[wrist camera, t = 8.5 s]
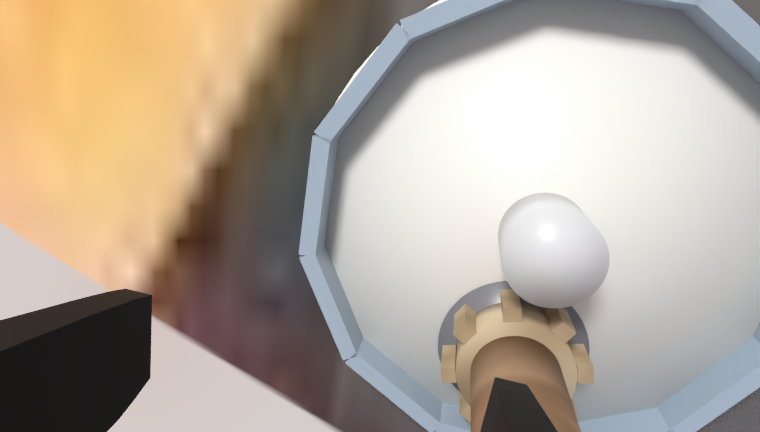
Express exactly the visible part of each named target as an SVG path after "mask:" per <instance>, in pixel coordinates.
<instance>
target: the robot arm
mask: <svg viewBox="0 0 760 432" xmlns="http://www.w3.org/2000/svg"><path fill="white" fill-rule="evenodd" d="M151 312H152V295H149V294H145V293H141V292H136V291H132V290H128V289H122V290H116V291H111V292H106V293H102V294H97V295H94V296H90V297H86V298H82V299H78V300H74V301H70V302H67V303H63V304H59V305H56V306H52V307H48V308H45V309H41V310H38V311H34V312H30V313H26V314H23V315H19V316H16V317H11V318H8V319H4V320H0V432H107V431H108V430H109V429H110V428H111V427H112V426H113V425H114V424H115V423H116V421H117V420H118V419H119V418H120V417H121V416H122V414H123V413H124V412H125V411H126V409H127V408H128V407H129V405H130V404H131V403H132V401H133V400H134V399H135V398H136V396H137V395H138V394H139V392H140V391H141V390H142V388H143V387H144V385H145V384H146V383H147V381H148V380H149V379H150V361H151V360H150V359H151ZM480 432H558V431H557V430H556V428H555V427H554V425H553V424H552V422H551V421H550V419H549V418H548V416H547V414H546V413H545V411H544V410H543V408H542V407H541V405H540V404H539V402H538V401H537V399H536V398H535V396H534V394H533V393H532V391H531V390H530V388H529V387H528V385H527V384H522V383H518V382H514V381H510V380H506V379H501V378H497V377H495V379H494V382H493V386H492V390H491V393H490V397H489V401H488V404H487V408H486V412H485V416H484V419H483V423H482V427H481V430H480Z"/></svg>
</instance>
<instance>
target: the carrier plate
mask: <svg viewBox="0 0 760 432" xmlns="http://www.w3.org/2000/svg"><path fill="white" fill-rule="evenodd" d="M400 22H401V25H402V26H400V25H398V24H397V23H396V24H395V26H394V27H393V28H392V30H391V31H390V32H389V34H388V35H387V36H386V38H385V39H384V40H383V42H382V43H381V44H380V45H379V46H378V47H377V48H376V49H375V50H374V52H373V53H372V54H371V55H370V56H369V57H368V58H367V60H366V61H365V62H364V63H363V64H362V65H361V67H360V68H359V69H358V70H357V71H356V72H355V74H354V75H353V77H352V78H351V80H350V81H349V83H348V84H347V86H346V87H345V89H344V90H343V92H342V93H341V95H340V96H339V98H338V100H337V101H336V103H335V105H334V106H333V108H332V109H331V110H330V112H329V113H328V114H327V116H326V117H325V118H324V120H323V121H322V122H321V124H320V125H319V126H318V128H317V129H316V130H315V133H316V135H313V137H312V146H311V154H310V163H309V171H308V180H307V188H306V197H305V205H304V214H303V222H302V231H301V239H300V248H299V254H300V255H301V257H300V261H301V263H302V266H303V268H304V270H305V273H306V275H307V277H308V280H309V282H310V284H311V287H312V289H313V291H314V294H315V296H316V298H317V301H318V303H319V305H320V308H321V310H322V312H323V315H324V317H325V319H326V322H327V324H328V326H329V329H330V331H331V333H332V336H333V338H334V341H335V343H336V345H337V348H338V350H339V352H340V355H341V357H342V359H343V360H346V359H347V360H346V362H345V363H346V364H347V365H348V366H349V367H351V368H352V369H353V370H354V371H355V372H357V373H358V374H359V375H360V376H362V377H363V378H364V379H365V380H366V381H368V382H369V383H370V384H371V385H372V386H374V387H375V388H376V389H377V390H379V391H380V392H381V393H382V394H383V395H385V396H386V397H387V398H388V399H390V400H391V401H392V402H393V403H394V404H396V405H397V406H398V407H399V408H401V409H402V410H403V411H404V412H405V413H407V414H408V415H409V416H410V417H412V418H413V419H414V420H415V421H416V422H418V423H419V424H420V425H421V426H423V427H424V428H425V429H426V430H427V431H429V432H434V431H435V432H471V423H470V422H469V421H468V420H466V419H465V418H464V417H463V416H462V415H460V414H459V407H460V390H459V388H458V384H457V381H456V383H442V378H441V358H442V347H443V345H456V349H457V340H458V339H457V338H456V337H455V336H454V335H453V328H454V314H455V313H456V312H457V311H458V310H459V309H460V308H461V307H462V306H463V305H464V304H466V305H467V306H469V307H470V308H471V309H472V310H473V311H475V312H476V313H477V312H478V311H480V310H481V309H483V308H485V307H488V306H491V305H494V304H498V303H501V299H500V289H513V291H514V292H515V293H516V294H517V295H518V296H519V298H520V302H521V303H525V304H528V305H532V306H534V307H537V308H539V309H541V310H543V311H545V310H546V309H547V308H563V309H565V310H566V311H567V312H568V314H569V316H570V319H571V321H572V324H573V326H574V328H575V331H576V333H577V334H575V335H574V336H573V337H572V338H571V339H570V340H569V341H568V344H584V346H585V349H586V351H587V353H588V356H589V358H590V360H591V363H592V365H593V367H594V384H578V383H577V385H576V389H575V392H574V394H573V396H572V401H573V404H574V407H575V410H576V414H577V416H576V418H577V421H578V425H579V428H580V431H581V432H696V431H698V430H699V429H700V428H702V427H703V426H705V425H706V424H708V423H709V422H711V421H712V420H713V419H715V418H716V417H718V416H719V415H721V414H722V413H723V412H725V411H726V410H728V409H729V408H731V407H732V406H734V405H735V404H736V403H738V402H739V401H741V400H742V399H744V398H745V397H747V396H748V395H749V394H751V393H752V392H754V391H755V390H757V389H758V388H759V387H760V26H759V25H758V24H757V23H756V22H755V21H754V20H753V19H752V18H751V17H749V16H748V15H747V14H746V13H745V12H744V11H743V10H742V9H741V8H740V7H739V6H737V5H736V4H735V3H734V2H733V1H732V0H440V1H438V2H436V3H434V4H432V5H431V6H429V7H428V8H426V9H425V10H423V11H421V12H418V13H416V14H414V15H411V16H409V17H407V18H404V19H402V20H400Z"/></svg>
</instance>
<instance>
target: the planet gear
mask: <svg viewBox="0 0 760 432" xmlns="http://www.w3.org/2000/svg"><path fill="white" fill-rule="evenodd" d="M500 299H501V303H498V304H494V305H491V306H488V307H485V308H483V309H481V310H480V311H478V312H477V313H476V312H475V311H473V310H472V309H471V308H470V307H469V306H467V305H466V304H464V305H463V306H462V307H461V308H460V309H459V310H458V311H457V312H456V313H455V314H454V328H453V335H454V336H455V337H456V338H457V339H458V340H457V349H456V345H443V347H442V358H441V378H442V383H456V381H457V384H458V388H459V390H460V407H459V414H460V415H462V416H463V417H464V418H465V419H466V420H468V421H469V422H470V423H471V432H480V430H481V427H482V423H483V419H484V416H485V412H486V408H487V404H488V401H489V397H490V393H491V390H492V386H493V382H494V379H495V377H497V378H501V379H506V380H510V381H514V382H518V383H522V384H527V385H528V387H529V388H530V390H531V391H532V393H533V394H534V396H535V398H536V399H537V401H538V402H539V404H540V405H541V407H542V408H543V410H544V411H545V413H546V414H547V416H548V418H549V419H550V421H551V422H552V424H553V425H554V427H555V428H556V430H557V431H558V432H581V431H580V428H579V425H578V421H577V418H576V416H577V414H576V410H575V407H574V404H573V401H572V396H573V394H574V392H575V389H576V385H577V383H578V384H594V367H593V365H592V363H591V360H590V358H589V356H588V353H587V351H586V349H585V346H584V344H568V341H569V340H570V339H571V338H572V337H573V336H574V335H575V334H577V333H576V331H575V328H574V326H573V324H572V321H571V319H570V316H569V314H568V312H567V311H566V310H565V309H563V308H547V309H546V310H545V311H543V310H541V309H539V308H537V307H534V306H532V305H528V304H525V303H521V302H520V298H519V296H518V295H517V294H516V293H515V292H514V291H513V289H500Z"/></svg>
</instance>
